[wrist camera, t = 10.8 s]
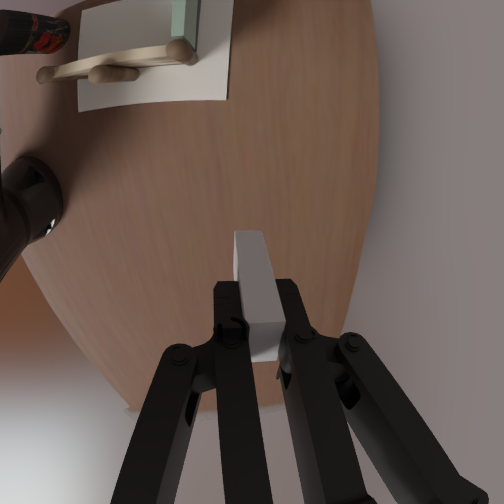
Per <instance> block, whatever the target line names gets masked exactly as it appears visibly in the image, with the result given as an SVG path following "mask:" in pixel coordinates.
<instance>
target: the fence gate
mask: <svg viewBox="0 0 504 504" xmlns="http://www.w3.org/2000/svg"><path fill="white" fill-rule="evenodd" d="M197 4H198V0H173V8H172V23H171V37H172V38H173V39H174V40H175V39H180V40H183V41H184V42H185V43H186V44H187V45H188V46H189V47H190V48H191V49H195V40H196V20H197Z"/></svg>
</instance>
